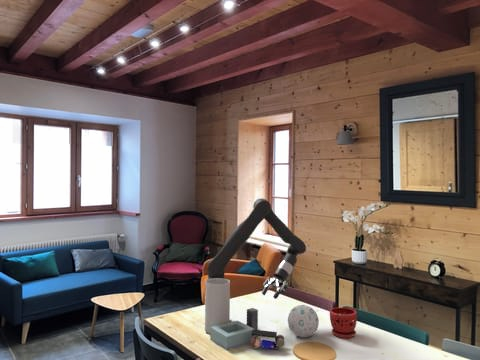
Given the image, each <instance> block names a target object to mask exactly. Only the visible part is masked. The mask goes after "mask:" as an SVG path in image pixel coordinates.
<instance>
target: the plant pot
mask: <svg viewBox="0 0 480 360" xmlns="http://www.w3.org/2000/svg"><path fill="white" fill-rule="evenodd" d="M357 314H358V313H357V310H355V309H353V308H350V307H343V306H341V307H333V308H330V309H329V321H330V324H331V327H332V329H331V333H332V334H333V335H335V336H336V337H339V338H344V339H345V338H346V339H348V338H349V339H350V338H353V337H354V336H355V335H357V331H356V326H357V321H358V320H357V318H358V316H357Z"/></svg>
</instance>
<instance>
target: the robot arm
mask: <svg viewBox="0 0 480 360" xmlns="http://www.w3.org/2000/svg"><path fill="white" fill-rule="evenodd" d="M263 220H265V221H266V222H267V223H268V224H269V226H270V227H271V228H272V229H273V230H274V232H275V233H276V235H277V236H278V238H280V240H282V241H283V242H284V243H285V244H288V247H287V250H286V253H285V256H284V257H283V259H282V260H281V262H280V263H279V265H278V266H277V268H276V270H275V272H274V273H273V277H270V276H267V278H266V279H265V281H264V282H263V284H262V286H263V289H262V291H261V294H262V295H263V296H265V295H266V294H267V293H268V291H269V289H272V288H276V291H275V292H274V293H273V299H274V300H276V299H278V297H279V296H280V294H284V293H285V292H286V290H287V289H288V286H289V283H288V281H287V280H288V278H289V276H290V275H291V273H292V272H293V269H294V267H295V266H296V264H297V261H298V259H297V255H302V254H304V253H306V250H307V246H306V244H305V242H304V241H303V240H302V239H301V238H299V237H298V236H297V235H295V234H294V233H293V231H292V230H291V229H290V228H289V227H288V226H287V225H286V223H284V222H283V221H282V220H281V219H280V218H279V217H278V216H277V214H276V213H275V212H274V210H273V209H272V204H271V203H270V202H269V201H268V200H267V199H265V198H257V199H255V201H254V203H253V209H252V210H251V212H250V213H249V215H247V218H245V219H244V220H243V221H241V223H240V224H238V225H237V227H235V229H233V231H232V232H231V233H230V235H229V236H228V238H227V239H226V241H225V243H224V244H223V246H222V248H221V249H220V251H219V252H218V253H217V254H216V255H215V256H214V257H212V258H211V259H210V260H209V261H208V263H207V267H206V269H207V273H208V274H207V275H208V276H207V280H208V279H214V278H222V279H225V268H226V267H227V265H229V262H230V261H231V260H232V258H233V257H234V256H235V255H236V254H237V253H238V252H239V251H240V250H241V248H243V246H244V245H245V244H246V243H247V241H248V240H249V239H250V237H251V236H252V235H253V233H254V232H255V231H256V229H257V227H258V226H259V225H260V224H261V222H262V221H263Z"/></svg>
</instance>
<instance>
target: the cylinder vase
mask: <svg viewBox="0 0 480 360" xmlns="http://www.w3.org/2000/svg"><path fill="white" fill-rule="evenodd" d="M204 289H205V290H204V293H205V294H204V296H205V297H204V301H205V302H204V303H205V304H204V330H205V333H207V334H210V327H213V326H217V325H221V324H225V323H230V320H231V319H230V317H231V316H230V313H231V312H230V311H231V310H230V309H231V308H230V307H231V305H230V302H231V301H230V300H231V281H230V280H229V279H227V278H224V279H222V278H214V279H208V278H207V279H206V280H205V287H204Z"/></svg>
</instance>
